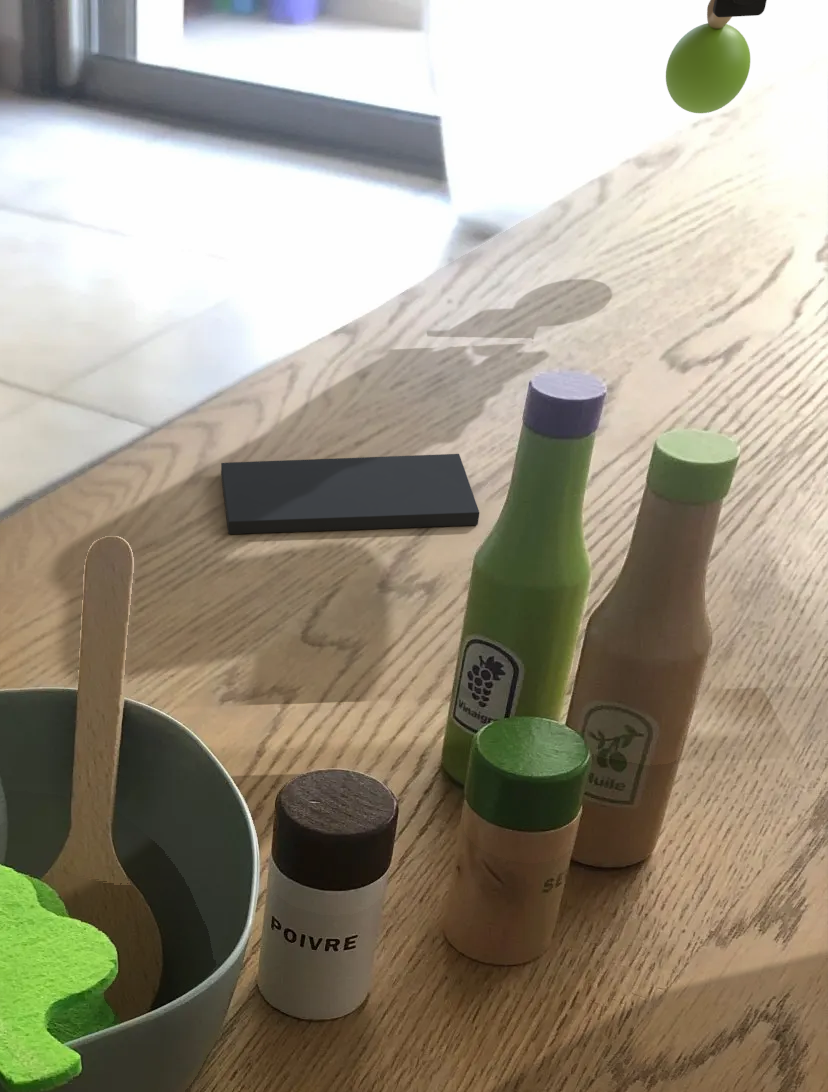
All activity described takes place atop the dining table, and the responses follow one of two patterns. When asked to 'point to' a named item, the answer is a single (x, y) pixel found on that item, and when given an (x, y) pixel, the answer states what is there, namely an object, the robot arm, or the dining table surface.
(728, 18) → the snail figurine
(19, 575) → the dining table surface
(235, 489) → the mat
